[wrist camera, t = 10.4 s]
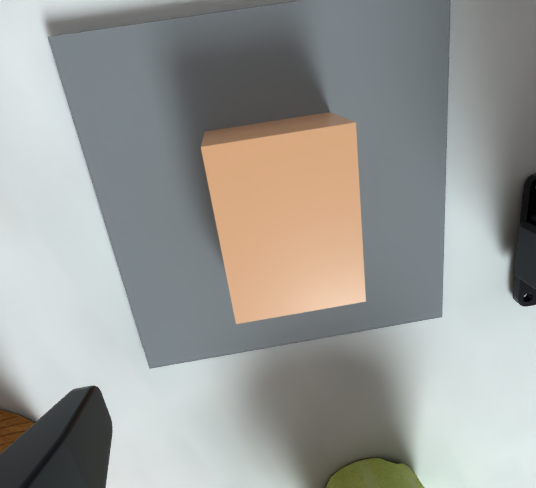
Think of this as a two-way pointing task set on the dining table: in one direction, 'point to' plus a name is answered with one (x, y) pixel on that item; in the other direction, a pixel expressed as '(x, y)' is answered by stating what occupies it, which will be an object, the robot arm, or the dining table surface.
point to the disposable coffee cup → (11, 428)
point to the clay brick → (287, 214)
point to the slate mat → (252, 112)
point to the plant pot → (374, 475)
